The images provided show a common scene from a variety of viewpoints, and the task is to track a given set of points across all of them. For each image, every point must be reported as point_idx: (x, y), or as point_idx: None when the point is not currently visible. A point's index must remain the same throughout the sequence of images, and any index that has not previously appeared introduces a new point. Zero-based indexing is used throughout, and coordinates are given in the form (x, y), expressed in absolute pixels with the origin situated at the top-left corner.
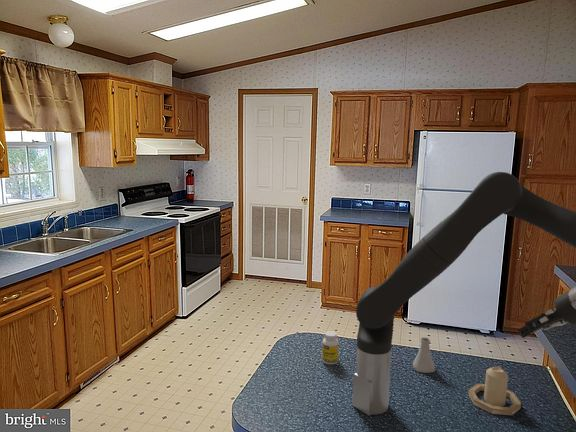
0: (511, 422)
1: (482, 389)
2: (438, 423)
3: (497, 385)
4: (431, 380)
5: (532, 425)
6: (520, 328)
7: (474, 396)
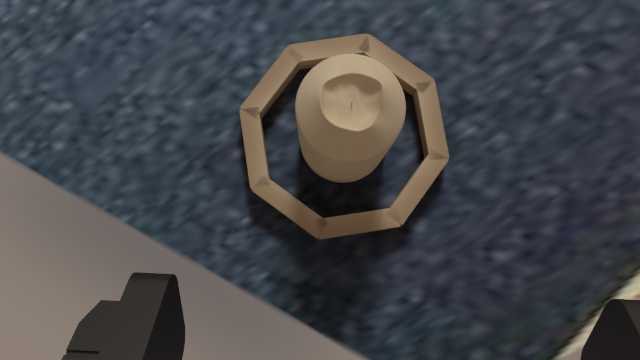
0: (270, 268)
1: None
2: (7, 128)
3: (308, 149)
4: None
5: (328, 323)
6: (119, 307)
7: (262, 92)
